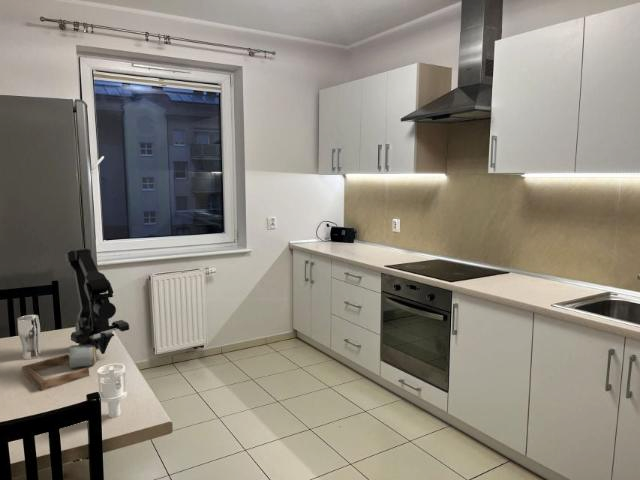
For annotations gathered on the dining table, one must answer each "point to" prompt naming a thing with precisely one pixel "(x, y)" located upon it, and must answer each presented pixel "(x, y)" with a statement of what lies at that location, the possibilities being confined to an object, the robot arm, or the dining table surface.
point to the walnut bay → (56, 381)
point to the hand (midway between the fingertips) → (102, 353)
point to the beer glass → (29, 336)
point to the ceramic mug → (82, 355)
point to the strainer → (112, 387)
